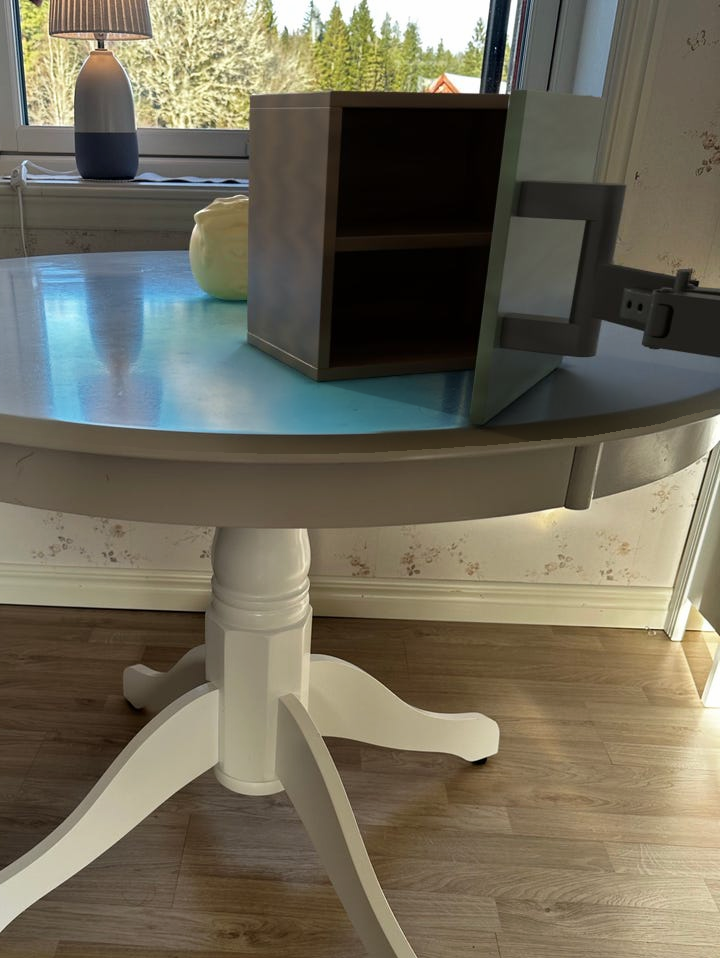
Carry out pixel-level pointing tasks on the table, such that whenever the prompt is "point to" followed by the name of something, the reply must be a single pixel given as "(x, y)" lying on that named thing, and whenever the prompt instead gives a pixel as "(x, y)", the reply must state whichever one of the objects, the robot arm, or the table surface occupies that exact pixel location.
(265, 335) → the cupboard
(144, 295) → the table surface
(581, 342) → the cupboard door
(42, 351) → the table surface
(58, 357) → the table surface
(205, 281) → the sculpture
